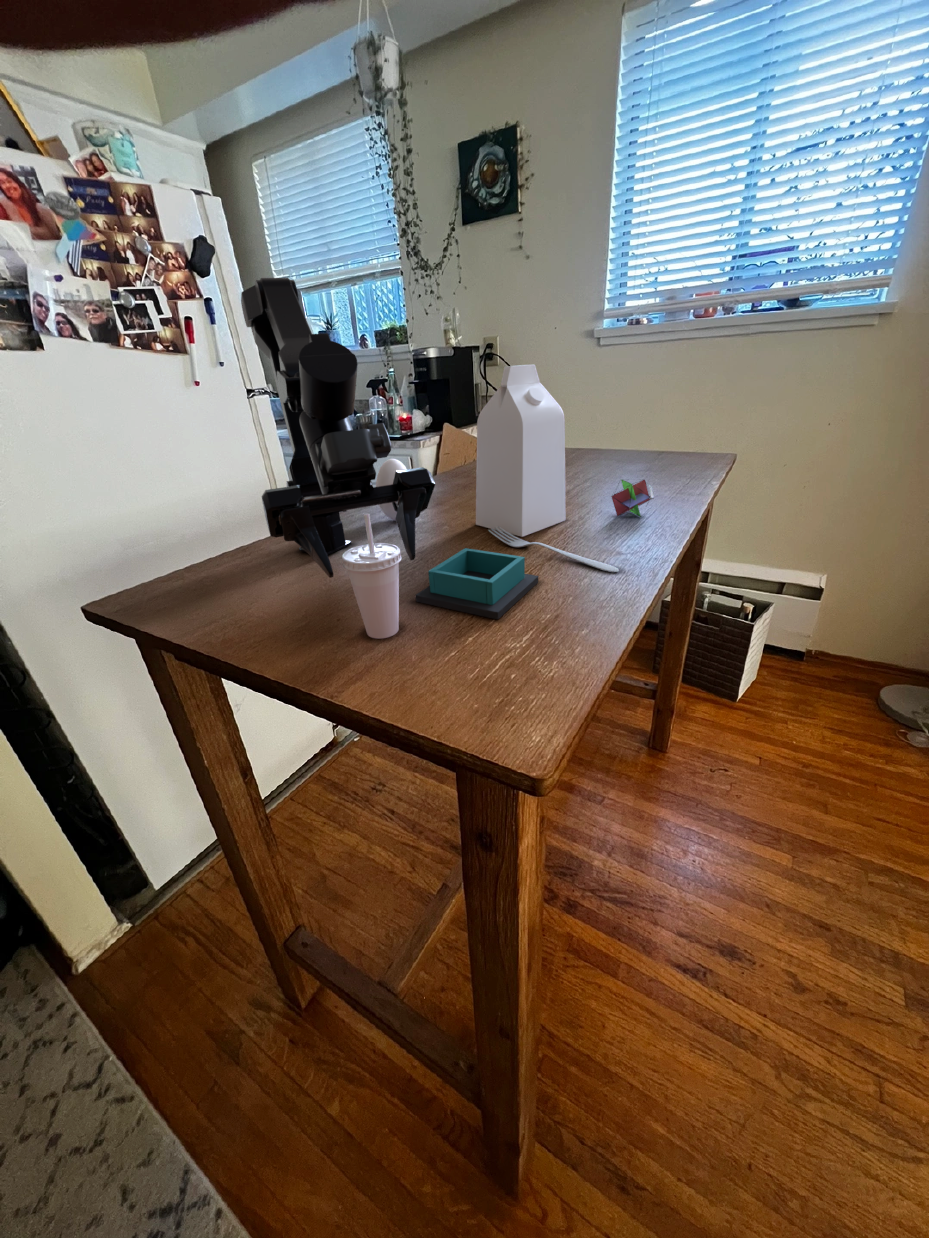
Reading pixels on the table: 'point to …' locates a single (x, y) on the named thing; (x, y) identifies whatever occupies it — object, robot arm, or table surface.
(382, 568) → the smoothie
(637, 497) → the geometric puzzle
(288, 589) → the table surface
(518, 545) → the fork
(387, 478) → the egg
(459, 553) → the dock pad
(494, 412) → the milk
